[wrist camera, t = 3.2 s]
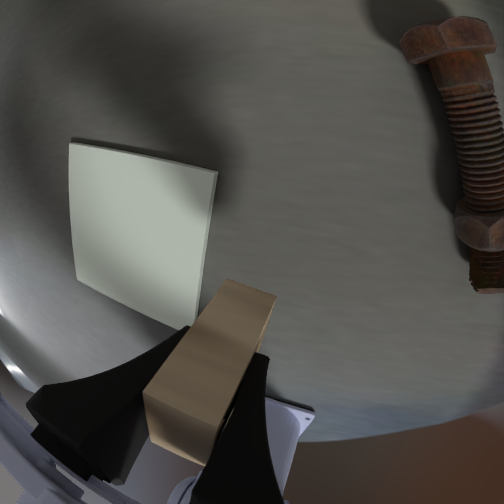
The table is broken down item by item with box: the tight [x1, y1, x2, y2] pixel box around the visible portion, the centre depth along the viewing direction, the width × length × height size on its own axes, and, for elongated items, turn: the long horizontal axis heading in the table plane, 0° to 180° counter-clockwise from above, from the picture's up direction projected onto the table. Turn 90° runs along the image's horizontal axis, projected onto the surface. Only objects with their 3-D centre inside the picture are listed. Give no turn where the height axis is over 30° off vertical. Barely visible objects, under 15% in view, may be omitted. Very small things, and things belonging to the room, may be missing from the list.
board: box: [69, 142, 218, 330], centre depth 22 cm, size 14×14×1 cm
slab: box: [142, 279, 277, 466], centre depth 11 cm, size 4×2×7 cm, turn 168°
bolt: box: [399, 16, 504, 294], centre depth 11 cm, size 6×5×15 cm
